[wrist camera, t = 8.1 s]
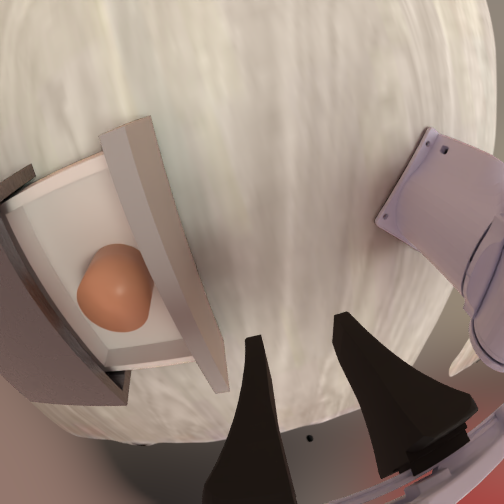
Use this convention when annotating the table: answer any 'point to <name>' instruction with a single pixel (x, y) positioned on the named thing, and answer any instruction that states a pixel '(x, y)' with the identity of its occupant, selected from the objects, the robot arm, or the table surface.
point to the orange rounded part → (116, 289)
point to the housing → (45, 337)
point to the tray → (118, 232)
